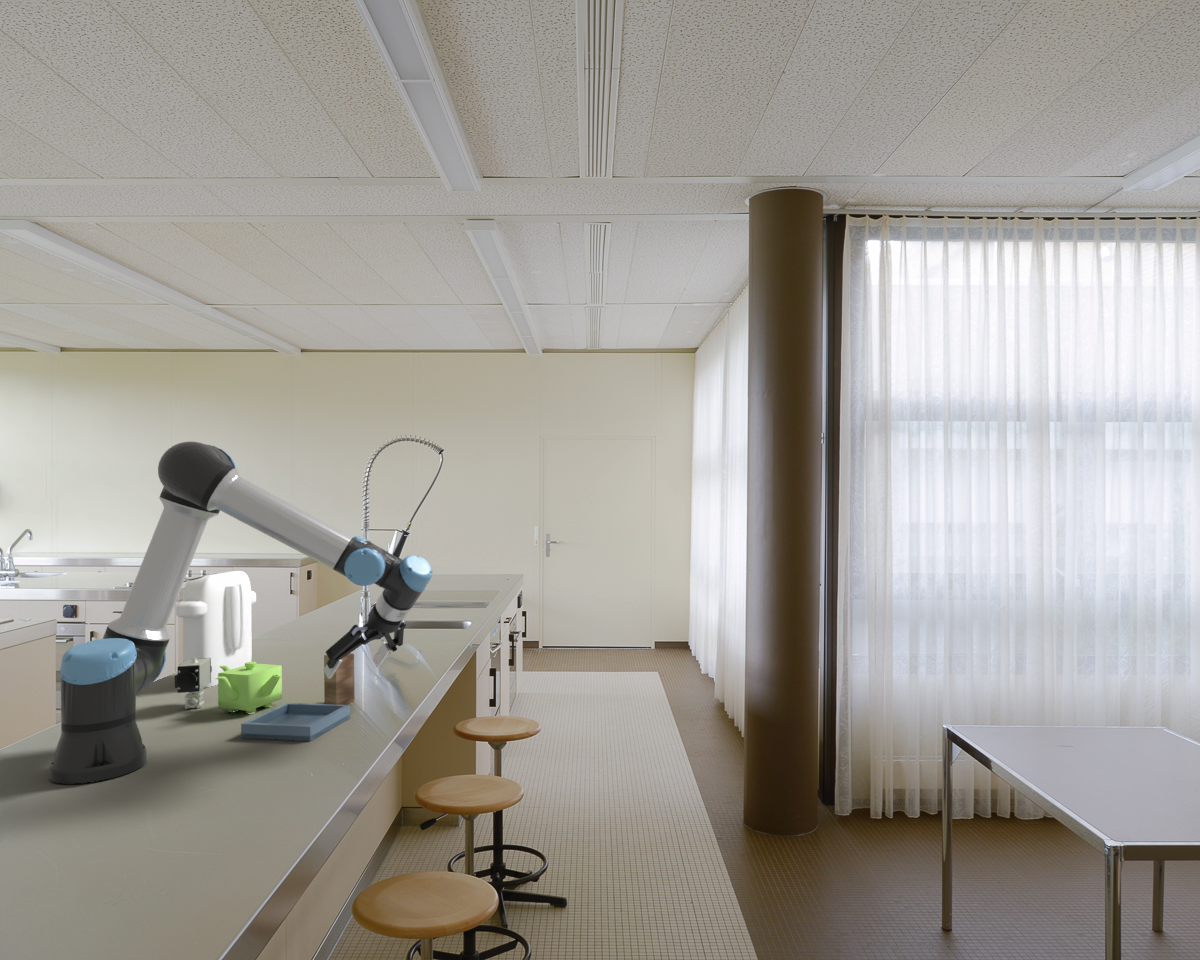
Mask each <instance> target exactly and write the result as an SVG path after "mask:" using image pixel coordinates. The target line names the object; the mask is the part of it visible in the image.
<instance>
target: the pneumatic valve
mask: <svg viewBox="0 0 1200 960" xmlns="http://www.w3.org/2000/svg"><path fill="white" fill-rule="evenodd" d="M211 672H212V667H211V658H199V659H197V658H196V657H194V658H193V659H190V660H188V661H187V662H185V663H183V662H181V663H179V664H178V666H177V674H176V673H175V675H174V689H177V693H178V694H181V693H183V694H184V693H187V694H185V696H184V698H185V706H184V708H185V710H188V709H195V708H196V709H201V707H202V706H204V705H205V702H206V701H204V700H205V696H204V695H205V690H203V689H205V688H204V687H205V686H207V685H208V684H209V683H211Z"/></svg>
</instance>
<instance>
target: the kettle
mask: <svg viewBox="0 0 1200 960" xmlns="http://www.w3.org/2000/svg"><path fill="white" fill-rule="evenodd" d="M219 667H220V668H222V669H223V671H224V672H221V673H218V677H216V678H215V679H218V685H217V689H218V690H217V696H218V697H217V700H218V701H217V703H218V704H217V706H218V709H226V710H228V711H229V712H233V711H237V710H238V711H245V714H246V713H252V712H255V711H256V712H257V708H260V707H262V708H263V707H269V706H272V705H273V704H272V703H274V702H276V701H280V700H282V699H283V681H282V680H283V669H282V668H283V667H282V665H281V664H280V665H279V664H267V663H257V661H251V662H247V663H245V666H241V667H238V668H234V669H230V668H229V667H228V666H219ZM238 711H237V712H238ZM233 713H234V712H233Z"/></svg>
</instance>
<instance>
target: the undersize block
mask: <svg viewBox="0 0 1200 960" xmlns="http://www.w3.org/2000/svg"><path fill="white" fill-rule="evenodd" d="M328 660H329V658H328V656H327V654H324V655H323V669H324V668H325V667H326V665H327V662H328ZM323 673H324V675H323V676H324V678H323V685H324V686H323V687H324V691H323V692H324V696H323V697H324V704H335V705H352V704H355V701H356V700H355V699H356V698H355V654H354V653H352V652H351V653H349V654H348V655H346V656H345V657H343V658H342V662H341V664H340V665H339V667H338V668H337V670H336V672H335V673H334V675H333V676H332V678H330V679H328V678H327V676H326V674H325V672H324V671H323ZM351 703H352V704H351Z"/></svg>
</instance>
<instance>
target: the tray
mask: <svg viewBox="0 0 1200 960" xmlns="http://www.w3.org/2000/svg"><path fill="white" fill-rule="evenodd" d="M350 719H351V704H348V705H335V704H325V703H305V702H304V703H301V702H285V703H283V704H281V705H279V706H276V707H275V708H273V709H271V710H268V711H266V712H264V713H262V714H259V715H257V716H255V717H253V718H250V719H248V720H247V721H244V722H243V723H241V724H240V726H241V727H240V735H241V736H240V738H241V739H248V738H257V739H256V740H270V739H278V741H292V740H294V741H296V742H311V741H313V740H315V739H317V738H319V737H321V736H322V735H324V734H326V733H328V732H329V731H330V730H333V729H335V728H337V726H340V725H341V724H343V723H345V722H347V721H348V720H350Z"/></svg>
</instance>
